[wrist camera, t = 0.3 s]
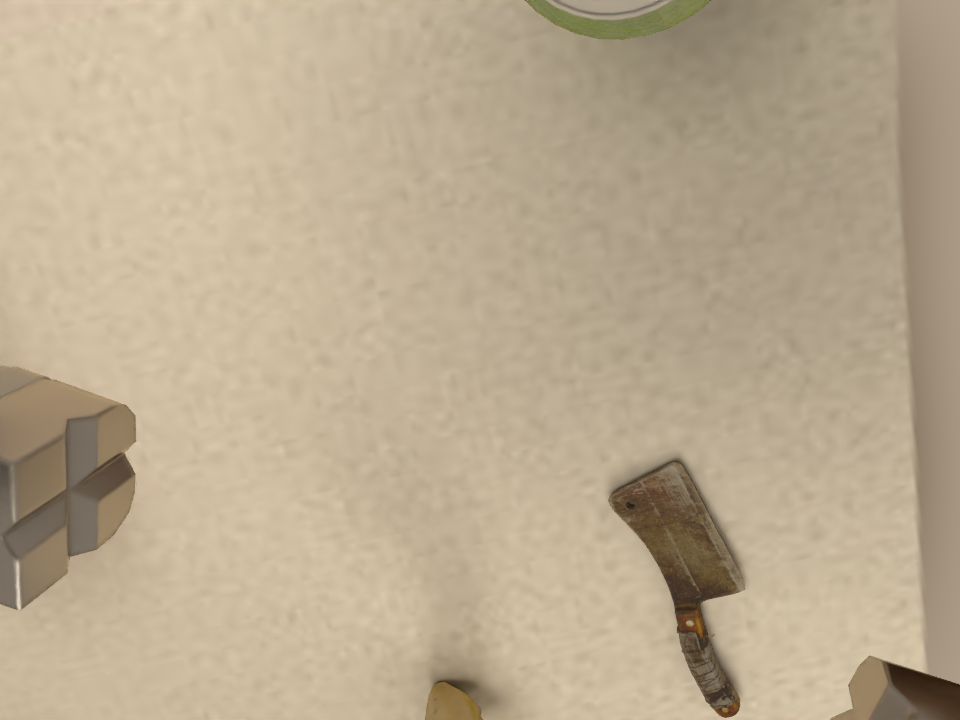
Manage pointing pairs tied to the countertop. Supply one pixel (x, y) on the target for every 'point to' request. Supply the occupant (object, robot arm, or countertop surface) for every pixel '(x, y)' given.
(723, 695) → the meat cleaver
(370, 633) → the countertop surface
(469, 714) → the fruit
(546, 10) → the beverage can
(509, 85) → the countertop surface
